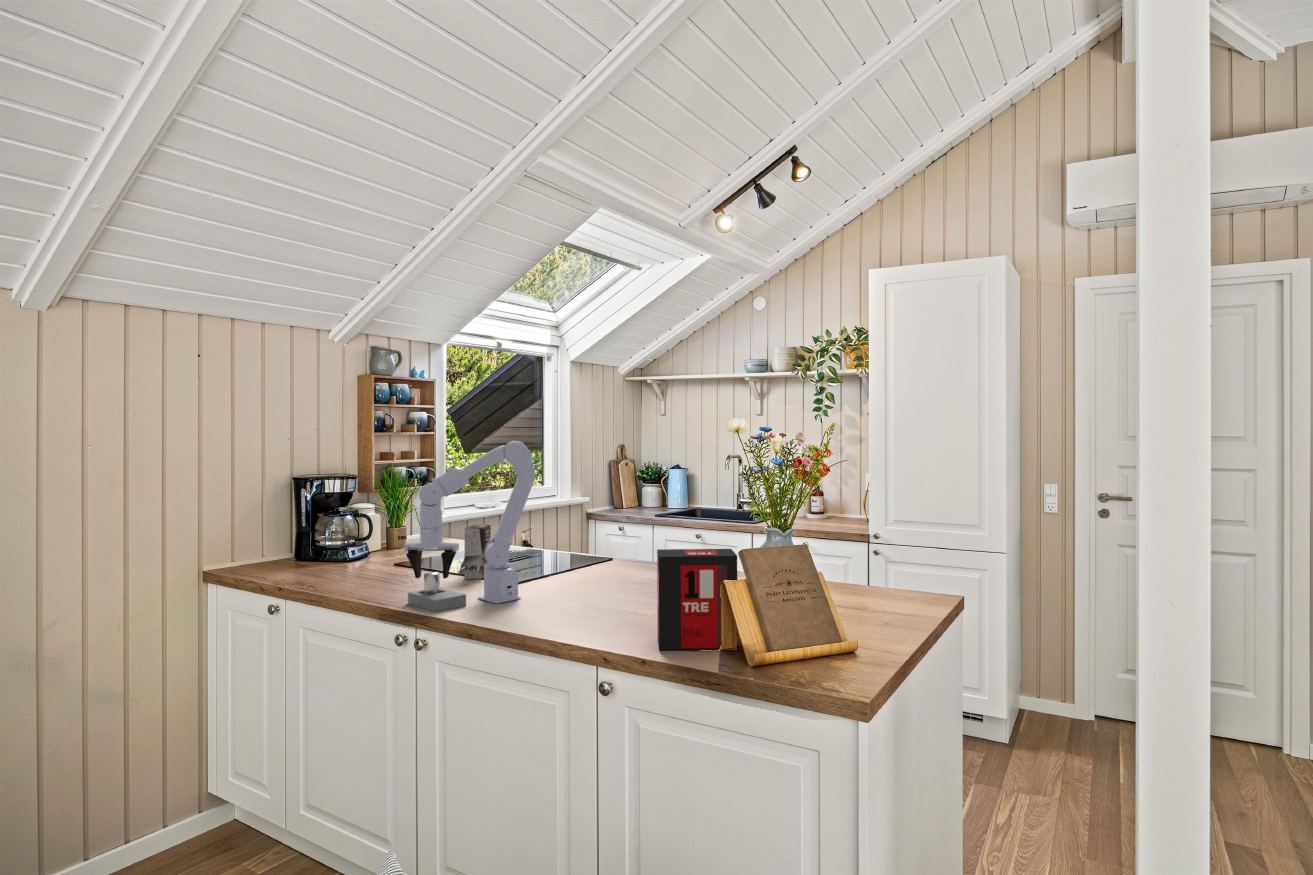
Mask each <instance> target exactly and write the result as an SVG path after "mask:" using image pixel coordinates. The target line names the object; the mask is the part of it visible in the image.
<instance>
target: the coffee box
mask: <svg viewBox="0 0 1313 875" xmlns="http://www.w3.org/2000/svg"><path fill="white" fill-rule="evenodd" d="M491 526H492V524H471V525H469V526H467V527H464V579H465V580H474V579H475V580H483V579H482V578H484V565H485V564H486V563H487V561H486V555H485V548H486V546H487V545H488V543H490V542H491V541H492V540H491V537H492V535H491V531H492V530H491Z"/></svg>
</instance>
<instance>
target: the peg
mask: <svg viewBox="0 0 1313 875" xmlns="http://www.w3.org/2000/svg"><path fill="white" fill-rule="evenodd" d="M423 575H424V576H423V586H424V587H423V588H424V594H425V595H432V594H437V593H440V587H441V586H440V584H441V581H440V580H441V578H440V577H441V574H440V572H439V571H430V572H429V571H428V572H425V573H423Z"/></svg>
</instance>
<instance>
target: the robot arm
mask: <svg viewBox="0 0 1313 875" xmlns="http://www.w3.org/2000/svg"><path fill="white" fill-rule="evenodd" d="M506 461H507V462H508V464H510V465H511V466H512V468H513V470H514V473H515V474H516V480H515V482H514V486H513V489H512V490H511V493H510V496H509V499H508V501H507V504H506V506H505V509H504V512H503V514H502V516H501V519H500V522H499V525H498V527H497V529H496V531H495V533H494V534H493V538H492V540H491V542H490V543H488V545H487V546H486V548H485V555H486V561H487V563H486V564H485V565H484V579H483V595H479V596H477V599H478V600H482V601H485V602H489V603H494V604H502V603H507V602H511V601H516V600H520V599H521V598H522V597H521V596H520V595H519V577H518V574H517V572H516V571H515V569H512V567H511V566H512V565H511V563H510V562H509V560H510V549H511V548H510V547H511V545H512V541H513V536H514V534H515V532H516V529H517V526H518V525H519V521H520V519H521V516H522V513H523V510H524V508H525V506H526V503H527V500H528V498H529V495H530V492H531V490H532V488H533V485H534V482H535V479H536V476H537V475H536V471H535V465H534V462H533V461H534V460H533V456H532V453H531V451H530V450H529V448H528V447H527V445H526V444H525V443H524V442H522V441H520V440H519V441H517V440H512V441H508V442H507V443H506V444H503V445H500V446H497V447H495V448H494V449H491V450H489V451H488V452H486V453H485V454H484V455H482V456H480V457H478V458H477V459H475V460H473V461H472V462H471V463H469V464H467V465H465V466H464V467H463V468H462V467H458V466H455V467H453V468H452V467H449V468H447V470H446V472H444V473H443V474H441V475H440V476H438V477H433V478H431V482H428V483H426V484H424V485H423V486H422V487H421V488H420V490H419V493H418V497H419V500H420V504H419V508H420V512H419V530H420V531H419V532H420V533H419V534H420V535H419V536H420V538H419V540H420V542H411V543H410V542H407V543H404V544H403V552H407V553H406V558H407V559H408V561H409V563H410V564H411V567H412V570H413V573H414V578H415V579H420V578H421V577H422V555H423V552H442V553H440V556H441V561H442V562H441V563H442V579H447V578H449V575H450V570H451V566H452V563H453V561H454V558H455V556H456V554H457V552H458V551H459V550H460V543H458V542H455V543H454V542H445V541H444V542H443V510H442V501H441V500H442V499H443V497H448V496H451V495H453V494H454V493H455V492H457V491H458V490H461V489H463V488H465V486H467V484H468V481H469V478H471V477H472V476H475V475H476V474H478V473H480V472H482V471H483V470H485V469H488V468H489V467H490V466H493V465H496V464H505V463H506Z"/></svg>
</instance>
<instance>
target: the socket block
mask: <svg viewBox="0 0 1313 875" xmlns="http://www.w3.org/2000/svg"><path fill="white" fill-rule="evenodd" d="M407 604H409V605H412V606H415V607H418V608H421V609H425V610H429V611H431V612H433V613H434V612H435V613H438V612H443V611H447V609H448V610H451V609H456V608H461V607H465V605H466V606H467V594H466V593H463V592H459V591H455V590H451V589H448V588H444V587H441V586H440V593H437V594H432V595H425V594H424V589H418V590H413V591H408V592H407Z"/></svg>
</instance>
